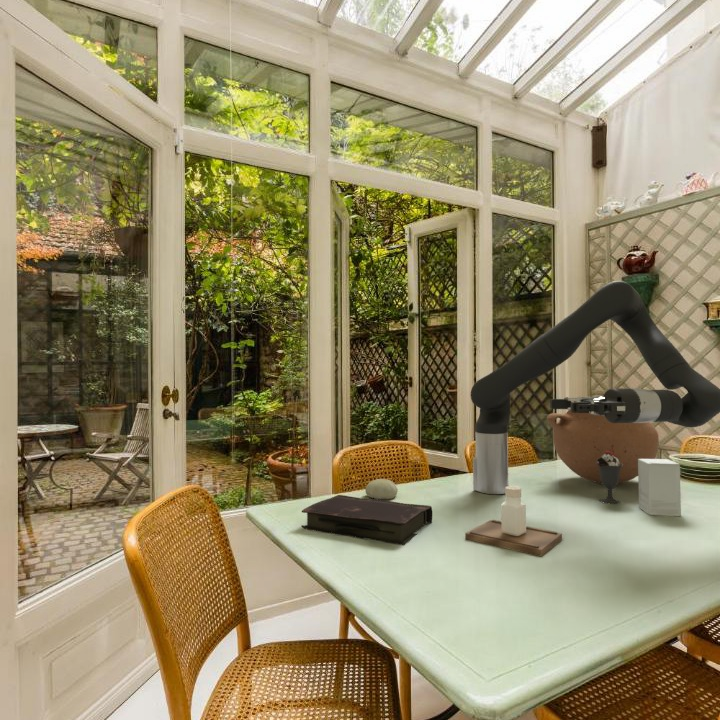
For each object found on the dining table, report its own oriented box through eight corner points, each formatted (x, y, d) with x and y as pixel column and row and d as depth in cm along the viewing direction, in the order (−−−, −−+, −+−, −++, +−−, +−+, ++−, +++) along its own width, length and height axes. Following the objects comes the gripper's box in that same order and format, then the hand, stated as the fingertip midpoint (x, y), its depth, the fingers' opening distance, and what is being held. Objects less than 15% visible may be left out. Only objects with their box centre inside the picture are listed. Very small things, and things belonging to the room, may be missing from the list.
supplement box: (682, 516, 121) (680, 463, 122) (648, 515, 123) (647, 463, 123) (669, 508, 129) (668, 458, 129) (638, 507, 130) (637, 457, 130)
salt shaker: (509, 529, 109) (509, 484, 109) (527, 533, 106) (526, 487, 106) (500, 533, 106) (499, 487, 106) (518, 537, 103) (517, 490, 104)
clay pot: (589, 498, 139) (587, 407, 140) (528, 476, 168) (527, 401, 169) (691, 490, 147) (689, 404, 148) (616, 471, 176) (615, 399, 177)
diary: (340, 512, 130) (340, 492, 130) (432, 525, 119) (432, 503, 119) (299, 531, 114) (299, 509, 114) (402, 549, 102) (402, 523, 102)
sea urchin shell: (403, 487, 146) (396, 471, 141) (396, 511, 141) (389, 496, 136) (374, 484, 150) (366, 468, 145) (367, 508, 145) (358, 492, 140)
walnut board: (465, 538, 107) (465, 531, 107) (490, 525, 116) (490, 518, 116) (541, 556, 96) (541, 548, 96) (562, 539, 106) (561, 532, 106)
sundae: (621, 499, 138) (620, 444, 138) (625, 505, 131) (624, 447, 132) (595, 497, 140) (594, 443, 140) (598, 503, 134) (596, 446, 134)
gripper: (610, 386, 117) (544, 386, 115) (654, 390, 103) (579, 389, 101) (610, 419, 117) (544, 419, 115) (653, 427, 103) (579, 427, 101)
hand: (560, 405), depth 108 cm, fingers open, 8 cm apart
